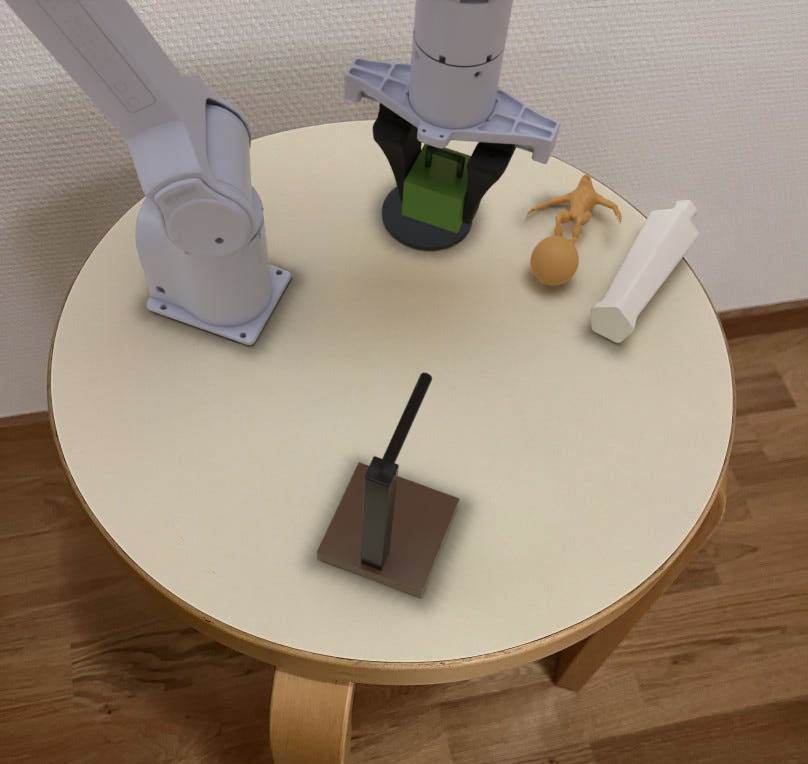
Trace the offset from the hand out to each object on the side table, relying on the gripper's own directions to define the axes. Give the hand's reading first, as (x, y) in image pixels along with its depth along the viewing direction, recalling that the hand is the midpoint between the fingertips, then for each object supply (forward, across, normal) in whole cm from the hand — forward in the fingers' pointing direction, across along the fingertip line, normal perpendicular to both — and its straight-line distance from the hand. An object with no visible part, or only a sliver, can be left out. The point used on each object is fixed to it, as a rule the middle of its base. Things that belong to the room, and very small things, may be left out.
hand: (438, 203), depth 67 cm
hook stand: (+9, +5, -22) cm, 25 cm away
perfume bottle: (+8, +15, +1) cm, 17 cm away
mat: (+9, -3, +7) cm, 12 cm away
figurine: (+8, +10, +3) cm, 13 cm away
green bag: (0, 0, 0) cm, 0 cm away
